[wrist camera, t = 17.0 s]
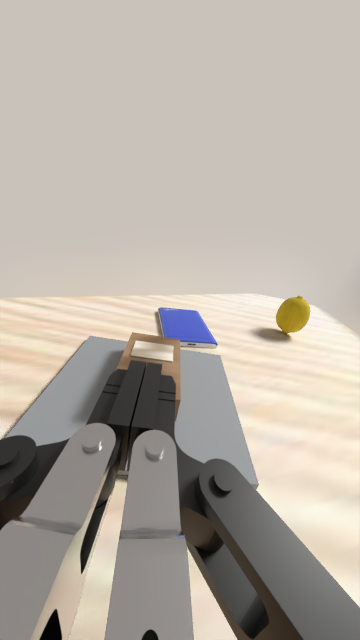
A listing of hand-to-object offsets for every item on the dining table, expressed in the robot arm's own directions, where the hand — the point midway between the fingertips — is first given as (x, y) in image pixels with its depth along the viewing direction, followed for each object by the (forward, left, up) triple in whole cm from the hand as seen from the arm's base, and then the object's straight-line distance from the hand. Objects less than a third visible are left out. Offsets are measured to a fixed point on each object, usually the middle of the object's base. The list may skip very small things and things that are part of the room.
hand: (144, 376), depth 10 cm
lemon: (+25, +30, -9) cm, 40 cm away
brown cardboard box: (0, +5, -7) cm, 9 cm away
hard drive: (+4, +25, -10) cm, 27 cm away
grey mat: (0, +9, -9) cm, 12 cm away
